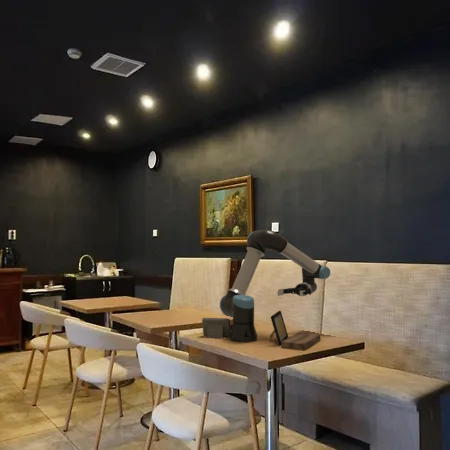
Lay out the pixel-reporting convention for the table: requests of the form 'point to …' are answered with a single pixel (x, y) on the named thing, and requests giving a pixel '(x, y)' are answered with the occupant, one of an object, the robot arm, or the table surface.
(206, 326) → the digital clock
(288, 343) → the plinth
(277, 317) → the picture frame
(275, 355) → the table surface
